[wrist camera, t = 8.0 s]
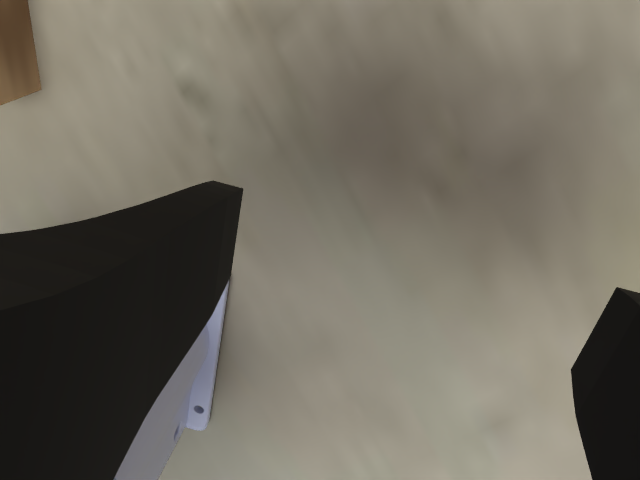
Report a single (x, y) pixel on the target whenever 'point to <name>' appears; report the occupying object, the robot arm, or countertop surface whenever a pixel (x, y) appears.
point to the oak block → (17, 52)
